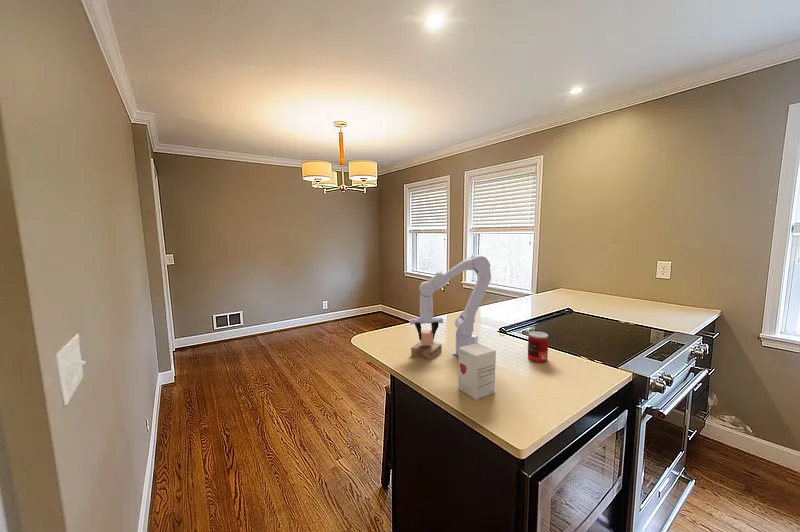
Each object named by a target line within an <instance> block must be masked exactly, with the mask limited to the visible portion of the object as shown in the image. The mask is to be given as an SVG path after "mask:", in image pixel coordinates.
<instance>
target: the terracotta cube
mask: <svg viewBox="0 0 800 532" xmlns="http://www.w3.org/2000/svg"><path fill="white" fill-rule="evenodd" d="M419 342H421V344H422V345H433V343H434V340H433V332H432V329H426V330H425V329H423V330H422V329H421V340H419Z"/></svg>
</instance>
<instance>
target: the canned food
mask: <svg viewBox="0 0 800 532" xmlns="http://www.w3.org/2000/svg"><path fill="white" fill-rule="evenodd" d="M527 336H528V337H527V340H528V341H527V359H528V360H529V361H530V362H533V363H537V364H542V363H546V362H547V361H548V358H549V357H548V354H549V353H548V352H549V334H548V333H546V332H544V331H539V330H538V331H537V330H536V331H535V330H534V331H530V332H528V335H527Z"/></svg>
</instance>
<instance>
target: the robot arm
mask: <svg viewBox="0 0 800 532" xmlns="http://www.w3.org/2000/svg"><path fill="white" fill-rule="evenodd" d="M465 271H474V272H475V274H476V276H477V281H476V282H475V285H474V287H473V289H472V292H471V294H470V296H469V298H468V300H467V303H466V305H465V307H464V310H463V311H462V312H460V315H459V316H458V317H457V318H455V322H454V323H455V327H456V331H455V350H454V351H453V353H452V355H454V356H459V348H460V347H463V346H467V345H471V344H475V343H478V344H479V342H478V341H479V338H478V335H477V334H474V326H475V325H474V324H475V322H476V321H475V319H476V315H477V312H478V309H479V307H480V306H481V303H482V301H483V298H484V296H485V294H486V292H487V289H488V287H489V285H490V283H491V280H492V273H491V263H490V262H489V259H488V258H487V257H486V256H484V255H480V254H473V255H471V256H469V257H467V258H465V259H464V260H462V261H461V262H459V263H458V264H456V265H455V266H453V267H452V268H450V269H449V270H447V271H446V272H445V271H444V272H443V271H440V272H438V271H437V272H436V273H435V275H434V276H432V277H430V278H427V279H426V281H422V282H421V283H420V285H419V287H418V289H419V292H420V293H419V317H416V318H410V319H409V325H414V327H415V328H416V330H417V334H418V339H419V341H420V340H421V330H422V324H424V325H425V324H431V325H430V326H431V330H432V332H433V341H434V340H435V335H436V332H437V330H438V329H439V324H444V318H443V317H434V299H433V294H434V293H435V291H437V290H440V289H441V288H442V287H445V286H446V285H447V284H448V283H449V282H450V280H451V279H452V278H453V277H456V276H457V275H459V274H461V273H462V272H465Z"/></svg>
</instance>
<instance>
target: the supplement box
mask: <svg viewBox="0 0 800 532" xmlns="http://www.w3.org/2000/svg"><path fill="white" fill-rule="evenodd" d="M496 355H497V350H495V349H492V348H490V347H488V346H487V345H486V346H485V345H483V344H481V343H479V342H478V343H475V344H471V345H467V346H463V347H460V348H459V355H458V383H457V384H458V390H460V391H461V392H462V393H465V394H466V395H468V396H469V397H471V398H472V399H473V400H475V401H477V400H480V399H483V398H484V397H487V396H490V395H492V394H494V393H496V360H497V359H496V358H497V356H496Z"/></svg>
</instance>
